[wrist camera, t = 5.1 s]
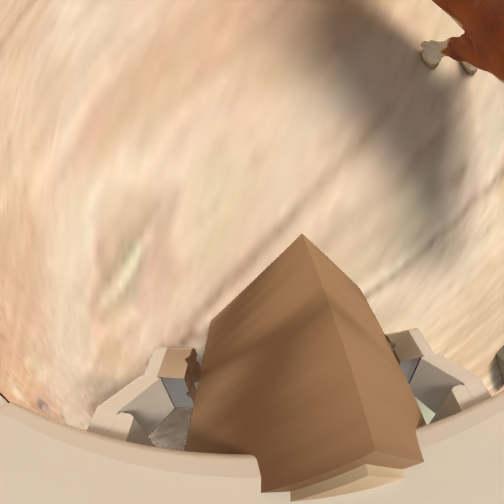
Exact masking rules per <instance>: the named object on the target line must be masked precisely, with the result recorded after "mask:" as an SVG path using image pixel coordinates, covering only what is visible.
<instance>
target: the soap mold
mask: <svg viewBox="0 0 504 504" xmlns="http://www.w3.org/2000/svg"><path fill="white" fill-rule="evenodd" d="M496 358H497V361H498V364H499V368H500V372H501V376H502V380H503V384H504V346H503V347H502V348H501V349H500V350H499V351H498V352H497V353H496Z"/></svg>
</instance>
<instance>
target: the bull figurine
mask: <svg viewBox="0 0 504 504" xmlns="http://www.w3.org/2000/svg"><path fill="white" fill-rule="evenodd" d="M432 1H433V2H434V3H436V4H437V5H438V6H439V7H440V8H442V9H443V10H444V11H445V12H446V13H447V14H449V15H450V16H451V17H452V18H453V19H454V21H455V22H456V23H457V24H458V25H459V26H460V27H461V28H462V29H463V30H464V31H465V33H464V34H463V35H461V36H460V37H451V38H449V39H447V40H446V41H444V42H436V41H434V40H431V41H429V42H427V41H424V42H422V43H421V46H422V47H423V49H424V51H423V53H422V55H421V56H422V59H423V61H424V63H425V64H426V65H427V66H428V67H430V68H436V67H437V66H438V65H439V62H440V60H441V58H442V57H444V56H449V57H451V58H452V59H454V60H456V61H460V62H462V65H463V67H464V69H465V70H466V71H467V72H468V73H470V74H474V73H476V71H477V68H479V69H481V70H484V71H488V72H490V73H492V74H493V75H494V76H495V77H496V78H497V79H499V80H500V81H502V82H503V83H504V0H432Z"/></svg>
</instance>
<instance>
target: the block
mask: <svg viewBox="0 0 504 504" xmlns="http://www.w3.org/2000/svg"><path fill="white" fill-rule="evenodd" d="M424 425H426V422H425V420H424V418H423V415H422V413H421V410H420V408H419V406H418V403H417V401H416V399H415V397H414V394H413V392H412V390H411V388H410V385H409V383H408V381H407V379H406V377H405V375H404V373H403V370H402V368H401V366H400V364H399V362H398V360H397V358H396V356H395V354H394V352H393V350H392V348H391V346H390V344H389V342H388V340H387V338H386V336H385V334H384V332H383V330H382V328H381V326H380V325H379V323H378V321H377V319H376V317H375V315H374V313H373V311H372V310H371V308H370V306H369V304H368V302H367V300H366V299H365V297H364V295H363V293H362V292H361V290H360V288H359V287H358V286H357V285H356V284H355V283H354V282H353V281H352V280H351V279H349V278H348V277H347V276H346V275H345V274H344V273H343V272H342V271H341V270H340V269H339V268H338V267H337V266H336V265H335V264H334V263H333V262H332V261H331V260H330V259H329V258H328V257H327V256H325V255H324V254H323V253H322V252H321V251H320V250H319V249H318V248H317V247H316V246H315V245H314V244H313V243H312V242H310V241H309V240H308V239H307V238H306V237H305V236H304V235H303V234H301V235H300V236H299V237H298V238H297V239H296V240H295V241H294V242H293V243H292V244H291V245H290V246H289V247H288V248H287V249H286V250H285V251H284V252H283V253H282V254H281V255H280V256H279V257H278V258H277V259H276V260H275V261H274V262H273V263H272V264H271V265H270V266H268V267H267V268H266V269H265V270H264V271H263V272H262V273H261V274H260V275H259V276H258V277H257V278H256V279H255V280H254V281H253V282H252V283H251V284H250V285H249V286H248V287H247V288H246V289H245V290H243V291H242V292H241V293H240V294H239V295H238V296H237V297H236V298H235V299H234V300H233V301H232V302H231V303H230V304H229V305H228V306H227V307H226V308H224V309H223V310H222V311H221V312H220V313H219V314H218V315H217V316H216V317H215V318H214V319H213V320H212V321H211V324H210V329H209V334H208V338H207V343H206V347H205V352H204V357H203V361H202V366H201V372H200V377H199V381H198V385H197V391H196V396H195V401H194V405H193V410H192V415H191V420H190V425H189V431H188V436H187V441H186V446H185V451H190V452H201V453H216V454H250V455H253V456H254V457H255V458H256V459H257V462H258V467H259V471H260V475H261V493H272V492H289V491H290V501H291V502H293V501H304V500H312V499H320V498H327V497H333V496H339V495H344V494H349V493H354V492H358V491H363V490H367V489H371V488H375V487H379V486H382V485H386V484H389V483H393V482H396V481H399V480H402V479H405V476H404V473H403V469H405V468H408V467H411V466H414V465H417V464H420V463H422V462H424V459H423V456H422V453H421V451H420V447H419V443H418V439H417V435H416V429H417V428H419V427H422V426H424Z"/></svg>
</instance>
